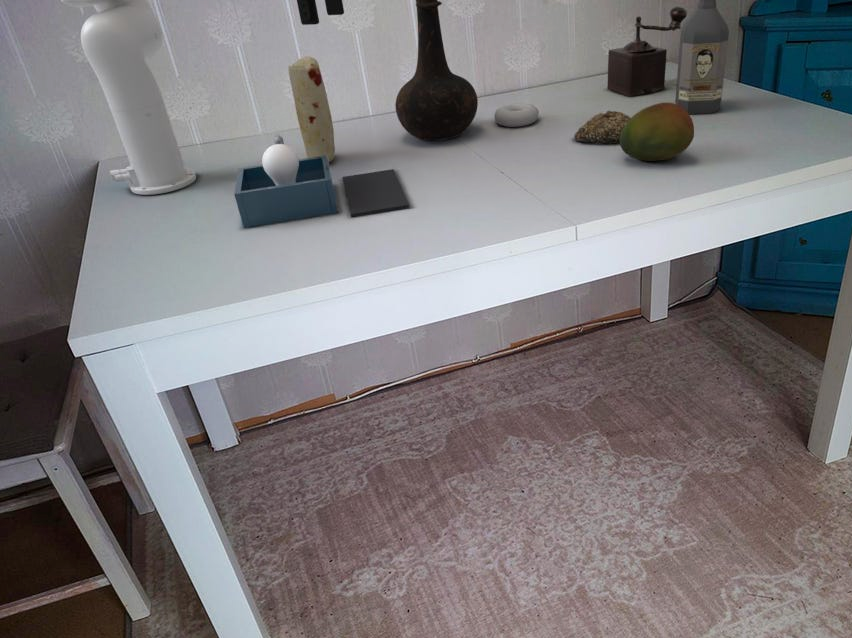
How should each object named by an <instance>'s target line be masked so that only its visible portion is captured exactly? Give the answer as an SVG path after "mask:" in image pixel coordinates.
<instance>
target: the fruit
mask: <svg viewBox="0 0 852 638" xmlns="http://www.w3.org/2000/svg"><path fill="white" fill-rule="evenodd" d="M630 118H631V119H630V120H629V121H628V122H627V123H626V125H625V126H624V128H623V130H622V132H621V134H620V143H619V145H620V148H621V150H622V151H623V153H625V154H626V155H627V156H628V157H631V158H633V159H636V160H640V161H644V162H645V161H646V162H655V161H658V162H659V161H664V160H669V159H673V158H675V157H677V156H679V155H681V154H682V153H683V152H685V151H686V150H687V149H689V147H690V145H691V144H692V142H693V140H694V137H695V125H694V121H693V119H692V117H691V114H688V112H687V111H686V110H685V109H684V108H683V107H681V106H679V105H677V104H676V103H675V102H667V101H666V102H660V103H655V104H652V105H650V106H647V107H644V108H643V109H640V110H639V111H638V112H636V113H635V114H634V115H633V116H631V117H630Z"/></svg>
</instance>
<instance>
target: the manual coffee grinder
mask: <svg viewBox="0 0 852 638" xmlns="http://www.w3.org/2000/svg"><path fill="white" fill-rule="evenodd" d="M687 15H688V12H687V10H686V9H685V8H684V7H681V6H675V7H672V8H671V9H670V11H669V16H670V20H671V21H670V23H669V25H668V26H659V25H647V24H646V25H644V24H642V23H641V22H642V17H641V16H636V18H635V24H634V26H635V39H634V41H630V42H629V43H627V44H626V45H625V46H623V47H618V48H613V49H608V55H607V57H608V58H607V59H608V60H607V87H606V89H607V90H609V91H611V92H613V93H617V94H620V95H622V96H626V97H630V98H632V97H638V96H642V95H647V94H652V93H655V92H658V91H662V90H665V89H666V86H665V85H666V84H665V81H666V69H667V67H666V66H667V53H668V49H667V48H663V47H660V46H659V47H658V46H653V45H652V44H651V43H649V42H648V41H646V40H641V29H643V30H653V31H661V32H662V31H663V32H669V31H672V32H674V31H676V30H681V29H682V26H681V25H682V24H681V23H682V22H683V21H684V19H686V18H687Z"/></svg>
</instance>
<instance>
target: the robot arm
mask: <svg viewBox="0 0 852 638" xmlns="http://www.w3.org/2000/svg"><path fill="white" fill-rule="evenodd" d="M59 1H60V2H61V3H62V4H64V5H66V6H68V7H72V8H77V9H79V8H88V7H92V6H93V8H94V9H95V13H93V14H92V15H90V16H89V17H87V19H86V20H85V21H84V23H83V25H82V27H81V30H80V43H81V44H80V45H81V48H82V51H83V53H84V55H85V58H86V59H87V61H88V63H89V65H90V66H91V68H92V70H93V72H94V74H95V76H96V77H97V80H98V82H99V84H100V87H101V89H102V92H103V94H104V96H105V99H106V102H107V104H108V108H109V110H110V113H111V115H112V118H113V121H114V123H115V126H116V129H117V131H118V134H119V137H120V139H121V143H122V145H123V149H124V151H125V153H126V156H127V159H128V162H129V165H128V166H126V168H123V169H120V168H119V169H111V170H110V172H109V173H110V177H111V179H112V181H116V183H120V182H125V181H129V182H130V183H129V188H130V191H131V192H132V193H133V194H136V195H141V196H152V195H161V194H167V193H171V192H174V191H177V190H182V189H183V188H185V187H188V186H189V185H191V184H192V183H194V182H195V181H196V179H197V174H196V172H195V171H194V170H193V169H191V168H186V166H185V163H184V160H183V156H182V153H181V151H180V148H179V145H178V141H177V138H176V135H175V132H174V129H173V125H172V123H171V119H170V115H169V113H168V110H167V106H166V103H165V101H164V98H163V94H162V92H161V89H160V86H159V84H158V81H157V80H156V77H155V75H154V73H153V72H152V70H151V69H150V67H149V65H148V63H147V61H146V60H148V59H149V58H151V57H153V56H154V55H156V54H157V53H158V52H159V50H160V49H161V47H162V44H163V31H162V27H161V24H160V22H159V20H158V18H157V16H156V15H155V13H154V11H153V9H152V8H151V7H150V5H149V3H148V1H147V0H59ZM296 3H297V9H298V14H299V20H300V23H301V24H302V26H306V25H307V26H311V25H318V24H320V18H319V13H318V7H317V3H316V0H296ZM324 4H325V9H326V14H327V15H328V16H342V15H344V14H345V8H344V5H343V4H344V3H343V0H324Z"/></svg>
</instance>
